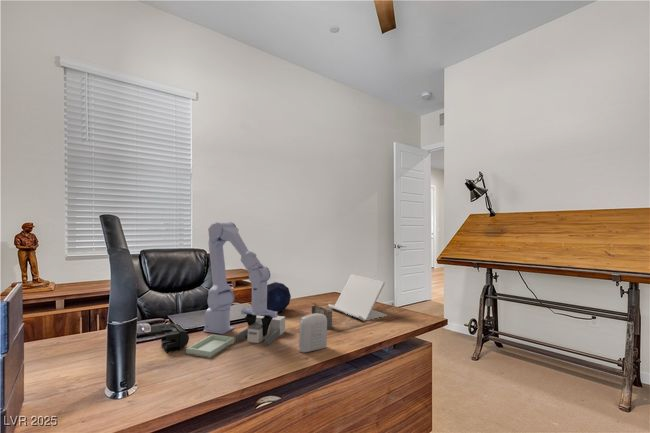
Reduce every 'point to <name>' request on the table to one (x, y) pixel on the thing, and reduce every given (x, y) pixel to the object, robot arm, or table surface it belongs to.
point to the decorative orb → (277, 297)
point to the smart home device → (158, 329)
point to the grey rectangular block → (256, 332)
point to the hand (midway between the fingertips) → (258, 334)
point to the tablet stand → (360, 298)
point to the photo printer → (312, 332)
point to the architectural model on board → (325, 312)
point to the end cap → (174, 338)
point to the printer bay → (275, 329)
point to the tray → (210, 346)
